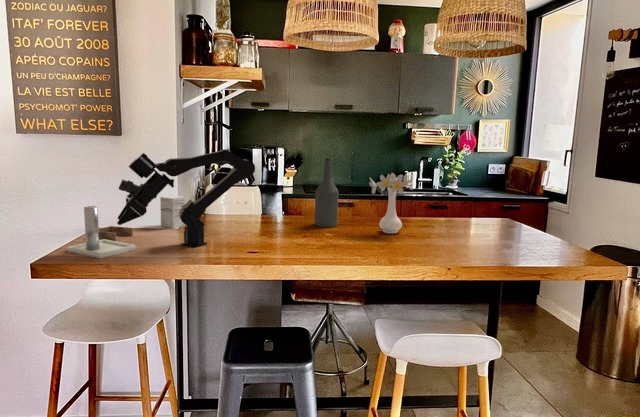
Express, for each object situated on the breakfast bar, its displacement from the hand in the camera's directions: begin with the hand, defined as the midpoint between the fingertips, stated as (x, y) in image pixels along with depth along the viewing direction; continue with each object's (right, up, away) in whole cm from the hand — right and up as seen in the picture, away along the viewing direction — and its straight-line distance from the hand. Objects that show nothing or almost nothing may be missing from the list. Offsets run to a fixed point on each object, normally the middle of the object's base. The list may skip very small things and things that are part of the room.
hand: (118, 221), depth 156 cm
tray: (-5, -10, -1) cm, 11 cm away
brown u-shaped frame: (-10, -6, +18) cm, 22 cm away
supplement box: (+5, -3, +42) cm, 42 cm away
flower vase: (+96, -6, +42) cm, 105 cm away
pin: (-8, -9, -2) cm, 12 cm away
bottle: (+70, -3, +53) cm, 88 cm away
